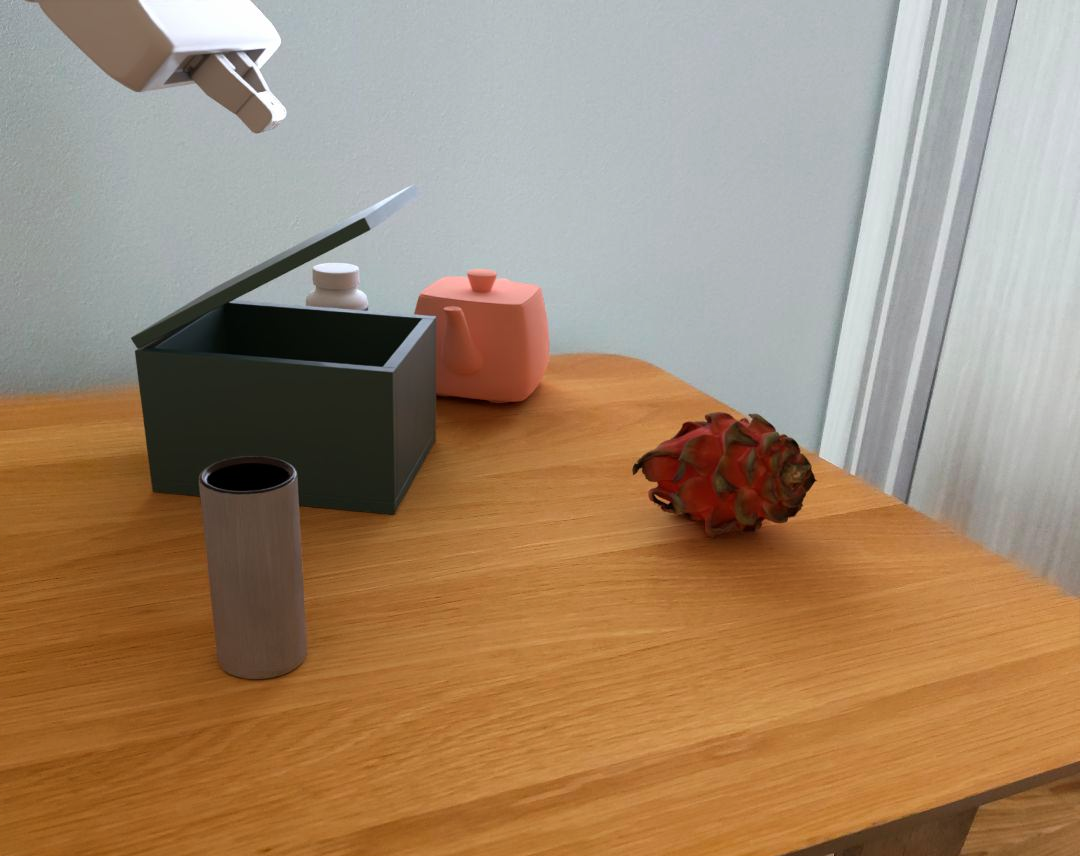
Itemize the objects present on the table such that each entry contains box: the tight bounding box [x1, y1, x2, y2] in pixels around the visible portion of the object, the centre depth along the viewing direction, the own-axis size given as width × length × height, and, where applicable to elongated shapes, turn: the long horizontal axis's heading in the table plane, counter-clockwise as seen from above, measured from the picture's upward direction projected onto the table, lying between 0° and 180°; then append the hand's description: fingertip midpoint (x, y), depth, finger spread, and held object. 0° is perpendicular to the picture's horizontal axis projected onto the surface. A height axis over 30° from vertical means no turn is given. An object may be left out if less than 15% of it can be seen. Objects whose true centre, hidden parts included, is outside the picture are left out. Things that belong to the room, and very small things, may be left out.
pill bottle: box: [305, 262, 369, 311], centre depth 94 cm, size 5×5×10 cm
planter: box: [199, 456, 308, 680], centre depth 53 cm, size 4×4×10 cm
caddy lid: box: [130, 183, 420, 349], centre depth 71 cm, size 18×14×1 cm
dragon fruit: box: [632, 411, 818, 538], centre depth 70 cm, size 8×8×12 cm
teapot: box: [413, 268, 550, 404], centre depth 92 cm, size 12×18×10 cm, turn 167°
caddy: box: [134, 299, 437, 515], centre depth 75 cm, size 17×14×10 cm
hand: (273, 124), depth 67 cm, fingers closed
